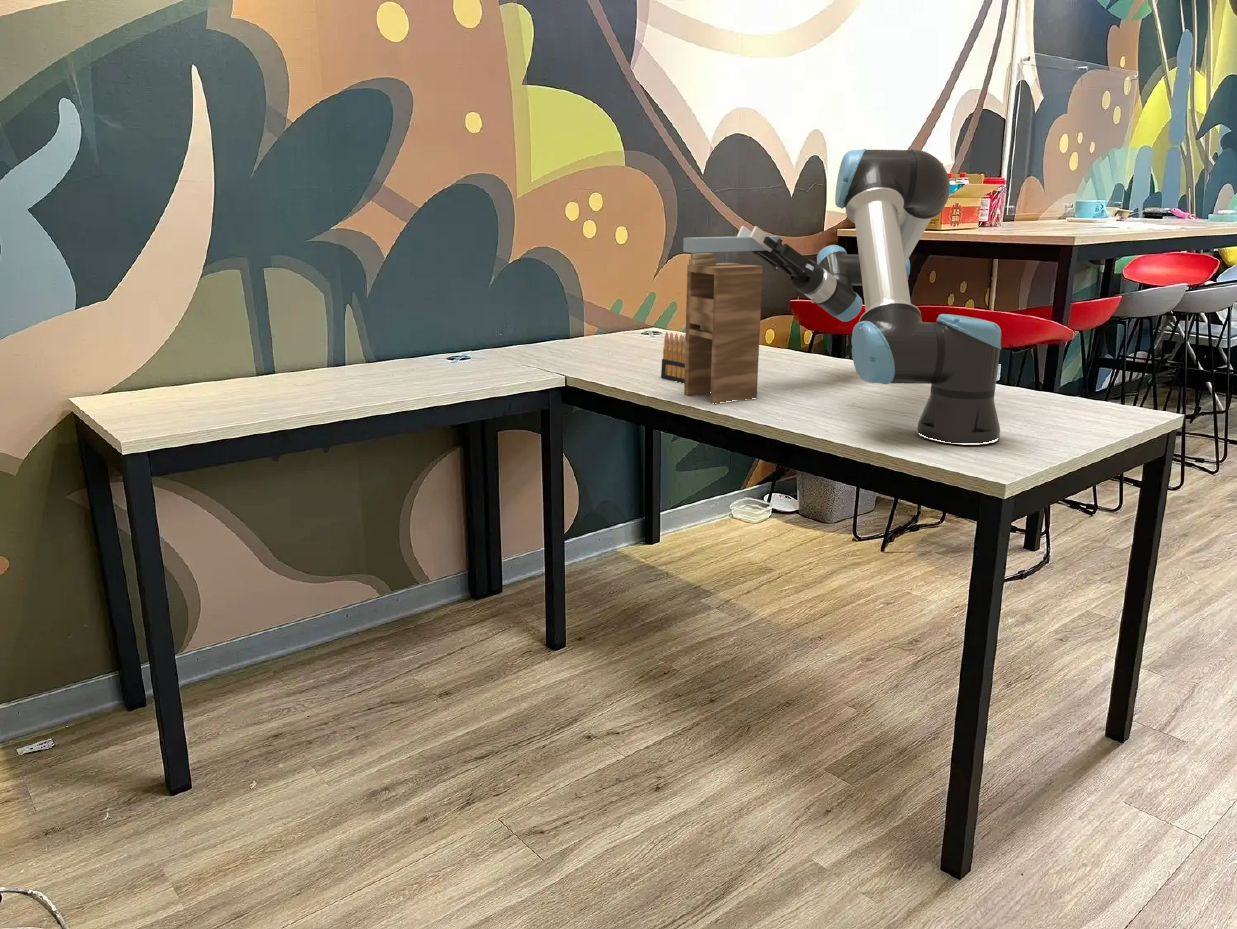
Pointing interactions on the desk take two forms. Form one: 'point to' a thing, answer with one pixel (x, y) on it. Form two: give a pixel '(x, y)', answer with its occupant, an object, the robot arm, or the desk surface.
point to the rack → (722, 329)
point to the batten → (722, 244)
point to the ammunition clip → (673, 358)
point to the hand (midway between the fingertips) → (746, 231)
